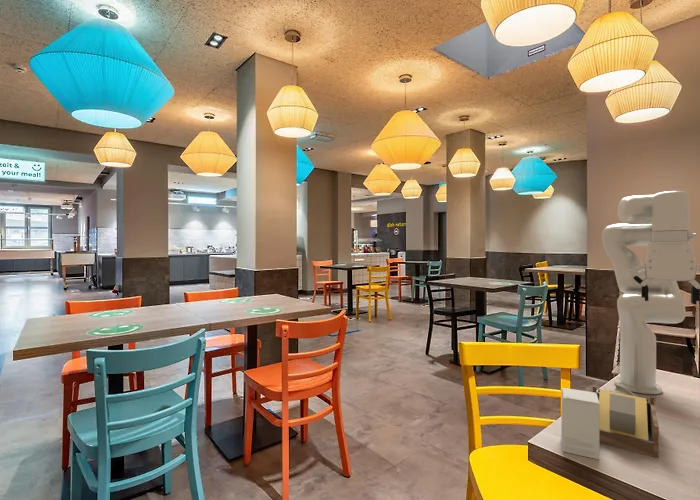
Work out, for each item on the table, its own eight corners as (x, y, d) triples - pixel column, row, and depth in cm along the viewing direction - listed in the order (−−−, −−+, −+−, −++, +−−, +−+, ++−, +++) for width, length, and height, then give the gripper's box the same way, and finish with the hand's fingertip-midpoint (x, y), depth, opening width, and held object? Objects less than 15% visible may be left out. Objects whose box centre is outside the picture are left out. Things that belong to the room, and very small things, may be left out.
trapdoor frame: (593, 414, 104) (593, 384, 104) (653, 428, 97) (653, 395, 97) (588, 439, 91) (588, 405, 91) (658, 457, 83) (658, 420, 83)
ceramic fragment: (647, 412, 107) (647, 398, 107) (627, 411, 107) (627, 398, 107) (618, 394, 121) (618, 382, 121) (601, 393, 121) (601, 381, 121)
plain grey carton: (610, 412, 96) (609, 393, 93) (634, 417, 93) (635, 398, 90) (609, 429, 92) (609, 409, 90) (635, 435, 89) (635, 415, 87)
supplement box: (600, 460, 82) (600, 403, 82) (561, 451, 86) (561, 397, 86) (597, 445, 89) (597, 392, 89) (561, 437, 92) (561, 386, 92)
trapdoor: (598, 390, 103) (598, 388, 103) (648, 400, 97) (648, 397, 96) (595, 435, 93) (595, 432, 93) (650, 449, 87) (650, 446, 86)
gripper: (711, 237, 97) (711, 303, 97) (629, 238, 108) (628, 297, 108) (717, 237, 91) (717, 307, 91) (629, 238, 102) (629, 301, 102)
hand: (669, 302), depth 100 cm, fingers open, 9 cm apart
